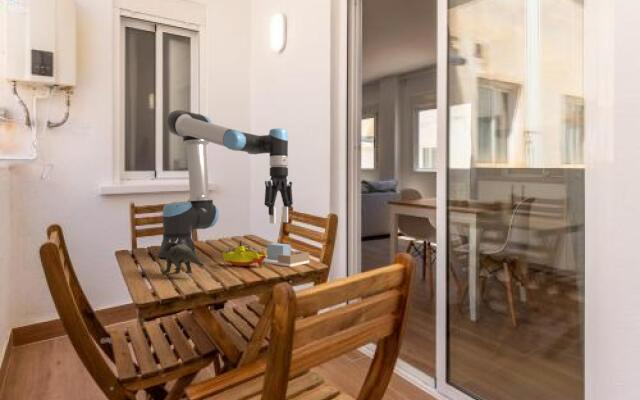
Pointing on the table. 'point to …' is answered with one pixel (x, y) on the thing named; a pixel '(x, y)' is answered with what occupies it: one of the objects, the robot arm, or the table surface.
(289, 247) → the block
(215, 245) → the table surface
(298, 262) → the jig
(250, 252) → the toy boat
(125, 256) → the table surface
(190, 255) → the dinosaur figurine
